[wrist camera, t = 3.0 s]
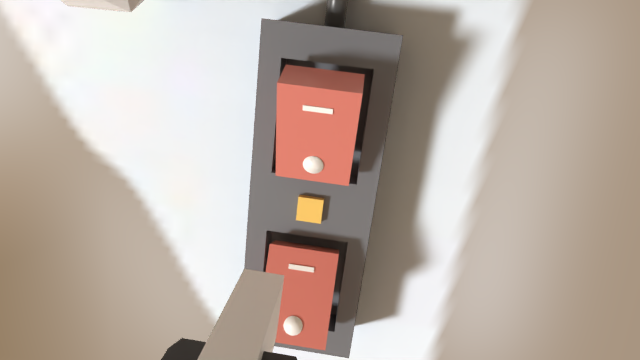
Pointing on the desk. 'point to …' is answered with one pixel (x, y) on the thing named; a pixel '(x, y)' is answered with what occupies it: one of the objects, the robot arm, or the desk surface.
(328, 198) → the power strip
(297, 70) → the rocker
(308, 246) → the rocker
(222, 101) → the desk surface
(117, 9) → the die
